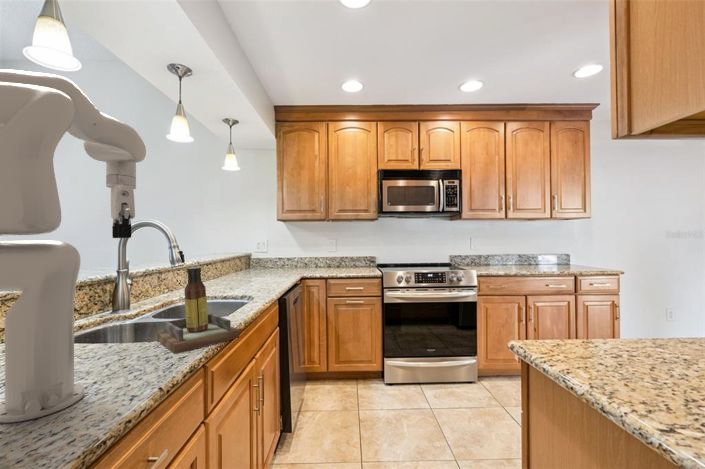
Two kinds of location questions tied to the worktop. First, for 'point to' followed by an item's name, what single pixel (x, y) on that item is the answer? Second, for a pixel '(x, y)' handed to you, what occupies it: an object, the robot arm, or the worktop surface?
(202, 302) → the sauce bottle
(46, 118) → the robot arm
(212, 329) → the dock
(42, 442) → the worktop surface
